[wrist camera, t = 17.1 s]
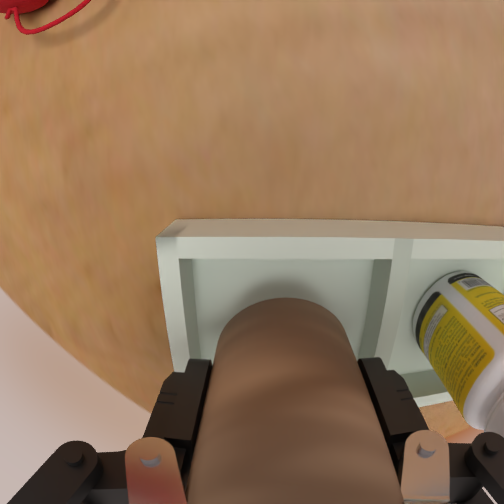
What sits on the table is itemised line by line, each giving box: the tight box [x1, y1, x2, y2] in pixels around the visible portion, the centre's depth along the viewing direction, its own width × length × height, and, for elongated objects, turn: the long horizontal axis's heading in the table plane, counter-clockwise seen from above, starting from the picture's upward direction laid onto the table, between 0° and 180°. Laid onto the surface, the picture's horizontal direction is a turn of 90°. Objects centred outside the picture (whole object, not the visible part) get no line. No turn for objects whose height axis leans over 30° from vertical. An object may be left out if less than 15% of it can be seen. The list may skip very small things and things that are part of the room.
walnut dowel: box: [185, 297, 404, 504], centre depth 8 cm, size 5×5×8 cm
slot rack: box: [156, 219, 504, 407], centre depth 14 cm, size 18×9×3 cm, turn 91°
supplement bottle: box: [413, 271, 504, 438], centre depth 10 cm, size 5×5×8 cm
